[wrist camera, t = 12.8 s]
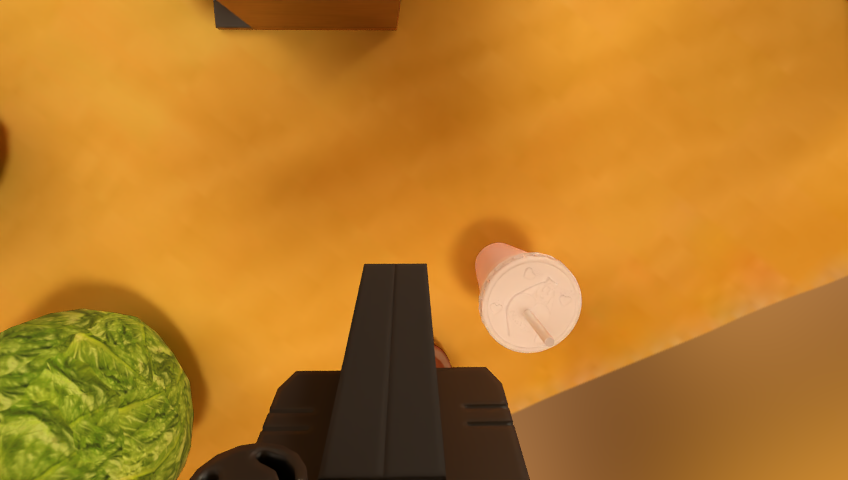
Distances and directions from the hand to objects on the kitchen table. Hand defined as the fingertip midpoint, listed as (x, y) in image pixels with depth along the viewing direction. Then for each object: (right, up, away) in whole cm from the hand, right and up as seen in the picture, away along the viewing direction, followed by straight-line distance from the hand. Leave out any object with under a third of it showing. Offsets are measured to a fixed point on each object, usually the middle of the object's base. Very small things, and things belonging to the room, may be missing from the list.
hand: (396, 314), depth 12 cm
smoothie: (+7, 0, +28) cm, 29 cm away
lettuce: (-28, -11, +28) cm, 41 cm away
